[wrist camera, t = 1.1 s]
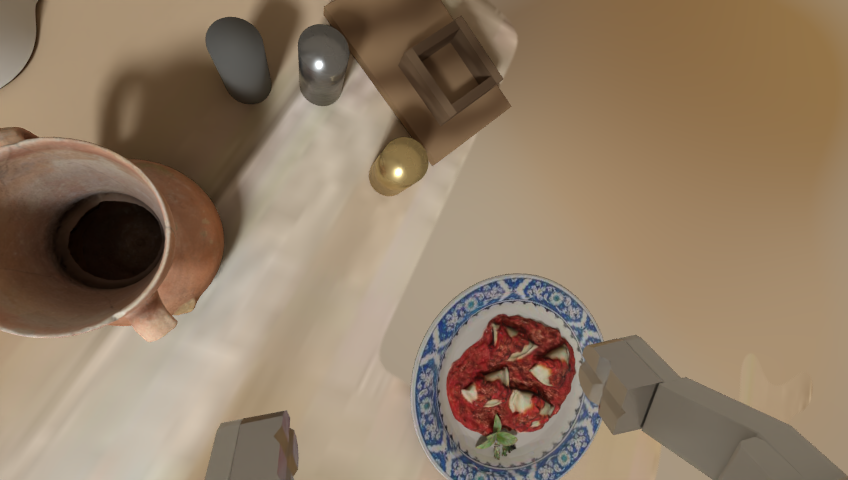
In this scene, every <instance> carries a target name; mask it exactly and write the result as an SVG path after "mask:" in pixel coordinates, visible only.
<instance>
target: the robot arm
mask: <svg viewBox="0 0 848 480" xmlns="http://www.w3.org/2000/svg"><path fill="white" fill-rule="evenodd" d="M37 2H38V0H0V88H1V87H3V86H4V85H6V84H7V83H8V82H10V81H11V80H12V79H13V78H14V77H16V76H17V74H18V73H19V72H20V71H21V70H22V69H23V67H24V66H25V65H26V63H27V61H28V60H29V58H30V56H31V53H32V51H33V48H34V44H35V39H36V17H35V8H36V3H37ZM582 356H583V357H584V358H585V361H584V362H583V363H582V364H581V366H580V368H579V374H578V376H579V381H580V385H581V387H582V390H583V392H584V393H585V395H586V396H587V398H588V399H589V400H590V401H592V402H593V403H595V404H597V405H598V406H599V407H598V414H599V416H600V417H601V418H602V420H603V421H604V423H605V424H606V426H607V427H608V428H609V430H610V431H611V433H612V434H613V435H616V434H620V433H625V432H629V431H634V430H638V429H642V431H643V432H645V433H646V434H648V435H649V436H650V437H652V438H653V439H655V440H656V441H658V442H659V443H661V444H662V445H663V446H665V447H666V448H668V449H669V450H671V451H672V452H674V453H675V454H677V455H678V456H679V457H681V458H682V459H684V460H685V461H687V462H688V463H689V464H691V465H693V466H694V467H695V468H697V469H698V470H700V471H701V472H702V473H704V474H705V475H707V476H708V477H710V478H711V479H713V480H848V476H847V475H846V474H845V473H843V471H841V470H840V469H839V468H838V467H837V466H836V465H835V464H833V463H832V462H831V461H830V460H829V459H828V458H827V457H826V456H825V455H823V454H822V453H821V452H820V451H819V450H818V449H817V448H816V447H814V446H813V445H812V444H811V443H810V442H809V441H808V440H806V439H805V438H804V437H803V436H802V435H801V434H799V432H797V431H796V430H795V429H794V428H793V427H792V426H790V425H788V424H786V423H784V422H782V421H780V420H778V419H775V418H773V417H771V416H769V415H767V414H765V413H762V412H760V411H758V410H756V409H754V408H752V407H749V406H747V405H745V404H743V403H741V402H739V401H736V400H734V399H732V398H730V397H728V396H726V395H723V394H721V393H719V392H717V391H715V390H713V389H710V388H708V387H706V386H704V385H702V384H699V383H697V382H695V381H693V380H691V379H688V378H687V377H685V378H681V377H680V376H678V375H677V373H676V372H675V371H673V369H672V368H671V367H670V366H669V365H668V364H667V363H666V362H665V361H664V360H663V359H662V358H661V357H660V356H659V355H658V354H657V353H656V352H655V351H654V350H653V349H652V348H651V347H650V346H649V345H648V344H647V343H646V342H645V341H644V340H643V339H642V338H641V337H639V336H637V335H633V336H628V337H624V338H619V339H612V340H608V341H604V342H599V343H595V344H591V345H587V346H586V347H585V348H584V350H583V354H582ZM289 427H290V417H289V415H288V412H287V411H281V412H276V413H270V414H265V415H260V416H254V417H249V418H244V419H239V420H234V421H229V422H224V423H221V424H220V426H219V428H218V430H217V433H216V437H215V441H214V445H213V448H212V452H211V456H210V460H209V464H208V468H207V472H206V476H205V480H294V478H293V476H294V475H295V473H296V472H297V470H298V444H297V439H296V435H295V432H294V430H293V429H291V428H289Z"/></svg>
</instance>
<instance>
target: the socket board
mask: <svg viewBox="0 0 848 480" xmlns="http://www.w3.org/2000/svg"><path fill="white" fill-rule="evenodd" d="M324 16H325V17H326V19H327V20H328V21H329V23H330V24H331V26H332V27H333V28H335V29H336V30H338V31H339V32H340V33H341V34H342V35H343V36H344V38H345V39H346V41H347V43H348V46H349V51H350V52H351V53H352V55H353V56H354V58H355V59H356V60H357V62H358V63H359V65H360V66H361V67H362V69H363V70H364V71H365V73H366V74H367V76H368V77H369V78H370V80H371V81H372V83H373V84H374V85H375V87H376V88H377V90H378V91H379V92H380V94H381V95H382V96H383V98H384V99H385V101H386V102H387V103H388V105H389V106H390V108H391V109H392V110H393V112H394V113H395V115H396V116H397V117H398V119H399V120H400V121H401V123H402V124H403V126H404V127H405V128H406V130H407V131H408V133H409V134H410V135H411V137H412V138H413V139H414V140H416V141H417V142H419V143H420V144H421V145H422V146H423V147H424V149H425V151H426V153H427V156H428V160H429V162H430V163H431V164H432V166H433V165H435V164H436V163H437V162H439V161H440V160H441V159H443V158H444V157H445V156H447V155H448V154H449V153H451V152H452V151H453V150H455V149H456V148H457V147H459V146H460V145H461V144H463V143H464V142H465V141H466V140H468V139H469V138H470V137H472V136H473V135H474V134H476V133H477V132H478V131H480V130H481V129H482V128H484V127H485V126H486V125H488V124H489V123H490V122H491V121H493V120H494V119H496V118H497V117H498V116H500V115H501V114H502V113H503V112H505V111H506V110H507V109H509V108H510V107H511V105H510V104H509V102H508V101H507V99H506V98H505V96H504V95H503V93H502V92H501V90H500V89H499V87H498V86H497V84H498V83H499V82H500V81H502V80H503V78H502V76H501V75H500V73H499V72H498V70H497V69H496V67H495V66H494V64H493V63H492V61H491V60H490V58H489V57H488V55H487V54H486V52H485V50H484V49H483V47H482V46H481V44H480V43H479V41H478V40H477V38H476V37H475V35H474V34H473V32H472V31H471V29H470V28H469V26H468V25H467V23H466V22H465V20H464V19H463V17H462V16H460V17H459V18H457V19H455V20H453V18H452V17H451V15H450V14H449V12H448V11H447V9H446V8H445V6H444V5H443V3H442V2H441V0H335V1H333V2H331V3H329V4H328V5H326V6H324Z"/></svg>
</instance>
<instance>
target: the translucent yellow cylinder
mask: <svg viewBox="0 0 848 480" xmlns="http://www.w3.org/2000/svg"><path fill="white" fill-rule="evenodd" d="M427 168H428V156H427V153H426V151H425V149H424V147H423V146H422V145H421V144H420V143H419V142H417V141H416V140H414V139H412V138H408V137H400V138H396V139H394V140H392V141H391V142H390V143H389V144H388V145H387V146H386V147H385V149H384V150H383V151H382V153H381V154H380V155H379V157H378V158H377V159H376V161H375V162H374V163H373V165H372V166H371V168H370V171H369V180H370V183H371V185H372V187H373V188H374V189H375V190H376V191H377V192H378V193H380V194H382V195H385V196H394V195H397V194H399V193H400V192H402V191H403V190H405V189H407V188H408V187H410V186H411V185H413V184H414V183H416V182H417V181H419V180H420V179H421V178H422V177H423V176H424V175H425V173H426V171H427Z"/></svg>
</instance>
